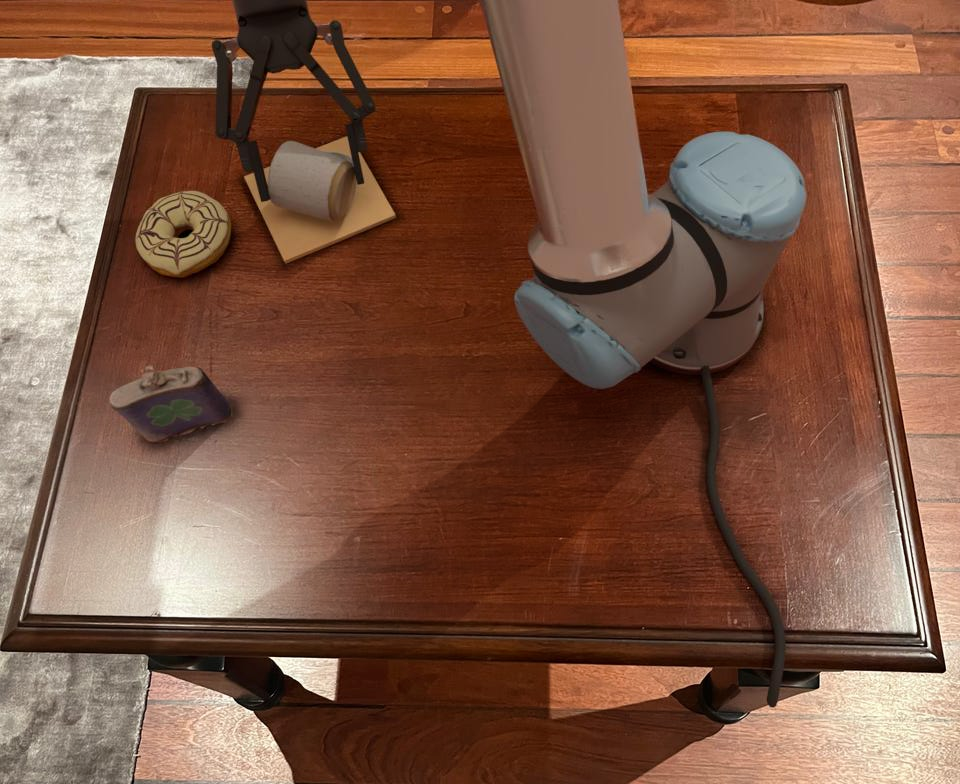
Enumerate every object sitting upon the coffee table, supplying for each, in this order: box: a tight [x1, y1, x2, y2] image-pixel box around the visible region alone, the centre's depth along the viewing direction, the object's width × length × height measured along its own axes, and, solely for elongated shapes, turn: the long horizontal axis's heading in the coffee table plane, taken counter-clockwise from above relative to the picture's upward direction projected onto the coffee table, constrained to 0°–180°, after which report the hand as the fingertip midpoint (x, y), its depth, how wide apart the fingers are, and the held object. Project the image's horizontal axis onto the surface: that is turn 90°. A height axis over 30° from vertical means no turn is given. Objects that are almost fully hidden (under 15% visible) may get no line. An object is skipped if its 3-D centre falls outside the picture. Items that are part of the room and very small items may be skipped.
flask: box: [108, 365, 234, 443], centre depth 79 cm, size 9×3×11 cm, turn 109°
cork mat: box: [243, 135, 397, 265], centre depth 95 cm, size 14×14×1 cm
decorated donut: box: [135, 190, 232, 278], centre depth 92 cm, size 10×11×4 cm
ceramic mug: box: [267, 140, 356, 221], centre depth 92 cm, size 11×8×8 cm
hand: (313, 191), depth 90 cm, fingers open, 10 cm apart
